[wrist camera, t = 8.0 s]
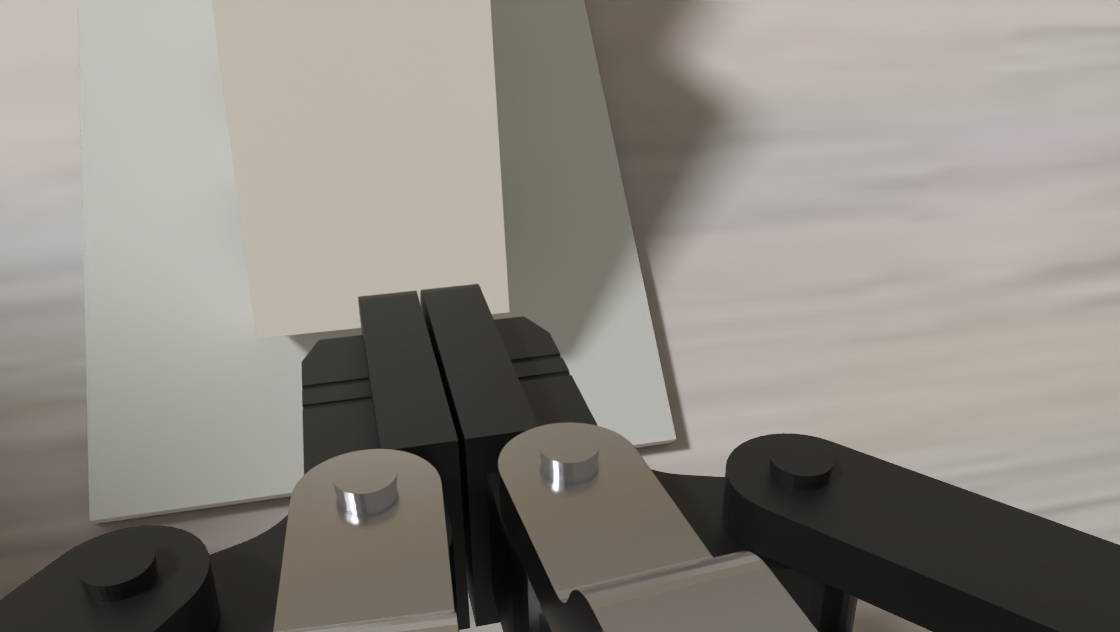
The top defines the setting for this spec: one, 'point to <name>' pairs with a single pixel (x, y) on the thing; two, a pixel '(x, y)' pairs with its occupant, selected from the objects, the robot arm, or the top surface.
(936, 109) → the top surface
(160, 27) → the mat
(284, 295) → the domino
